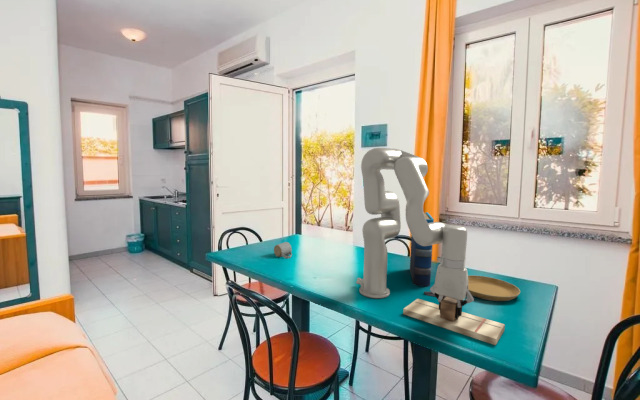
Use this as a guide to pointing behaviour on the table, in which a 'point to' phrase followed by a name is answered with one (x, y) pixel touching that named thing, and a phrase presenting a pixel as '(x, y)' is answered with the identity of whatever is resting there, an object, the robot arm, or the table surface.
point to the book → (421, 260)
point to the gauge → (448, 308)
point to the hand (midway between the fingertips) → (449, 314)
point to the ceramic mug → (283, 250)
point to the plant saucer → (491, 288)
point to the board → (457, 321)
